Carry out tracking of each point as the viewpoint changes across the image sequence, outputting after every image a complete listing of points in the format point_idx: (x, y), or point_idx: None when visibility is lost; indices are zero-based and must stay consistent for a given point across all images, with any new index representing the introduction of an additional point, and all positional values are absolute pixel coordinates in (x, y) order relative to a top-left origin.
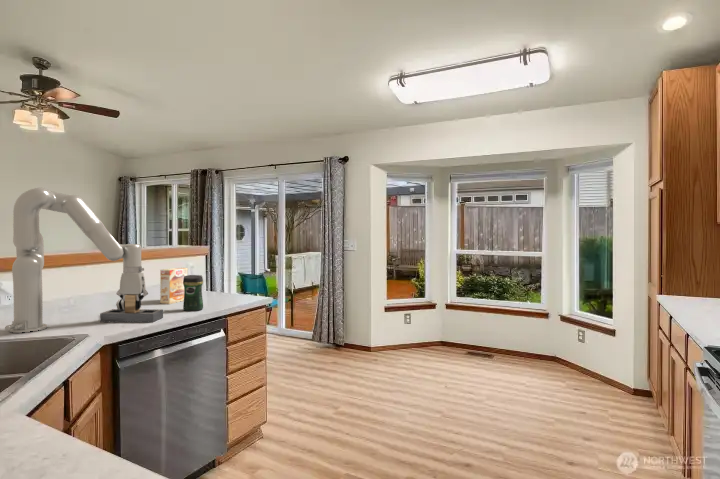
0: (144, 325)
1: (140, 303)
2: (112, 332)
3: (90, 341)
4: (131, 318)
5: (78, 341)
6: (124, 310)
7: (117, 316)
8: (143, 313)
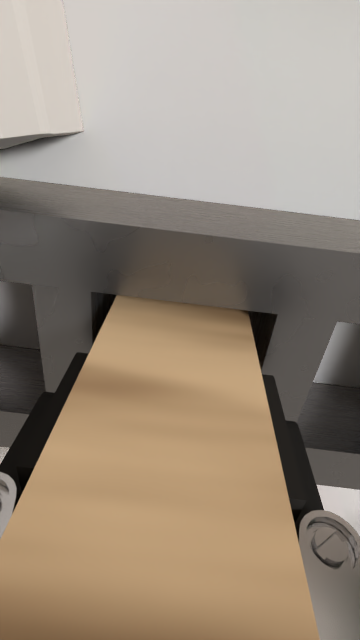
0: (339, 490)
1: (306, 476)
2: None
3: None
4: None
5: None
6: (13, 278)
7: None
8: (340, 480)
